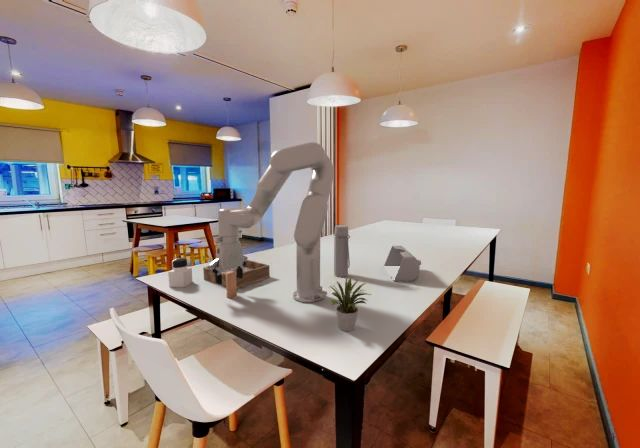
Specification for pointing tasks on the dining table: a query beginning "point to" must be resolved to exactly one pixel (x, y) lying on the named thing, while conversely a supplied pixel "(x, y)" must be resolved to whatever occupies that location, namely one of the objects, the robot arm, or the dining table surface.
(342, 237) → the water bottle
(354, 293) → the house plant
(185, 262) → the medicine bottle
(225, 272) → the bore plate
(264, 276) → the open box
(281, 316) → the dining table surface
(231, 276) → the peg
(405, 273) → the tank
